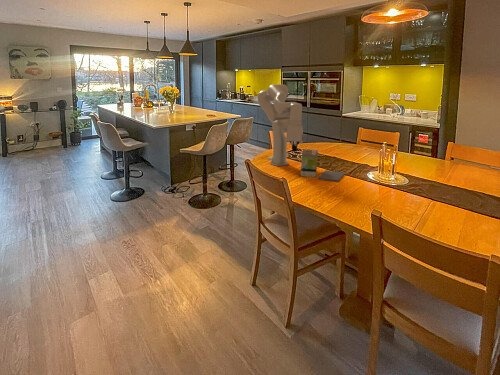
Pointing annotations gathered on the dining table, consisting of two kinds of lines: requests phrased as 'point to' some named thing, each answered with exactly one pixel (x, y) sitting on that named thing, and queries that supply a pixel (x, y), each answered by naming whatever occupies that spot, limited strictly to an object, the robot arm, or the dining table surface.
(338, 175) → the display board
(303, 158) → the tea box
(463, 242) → the dining table surface
